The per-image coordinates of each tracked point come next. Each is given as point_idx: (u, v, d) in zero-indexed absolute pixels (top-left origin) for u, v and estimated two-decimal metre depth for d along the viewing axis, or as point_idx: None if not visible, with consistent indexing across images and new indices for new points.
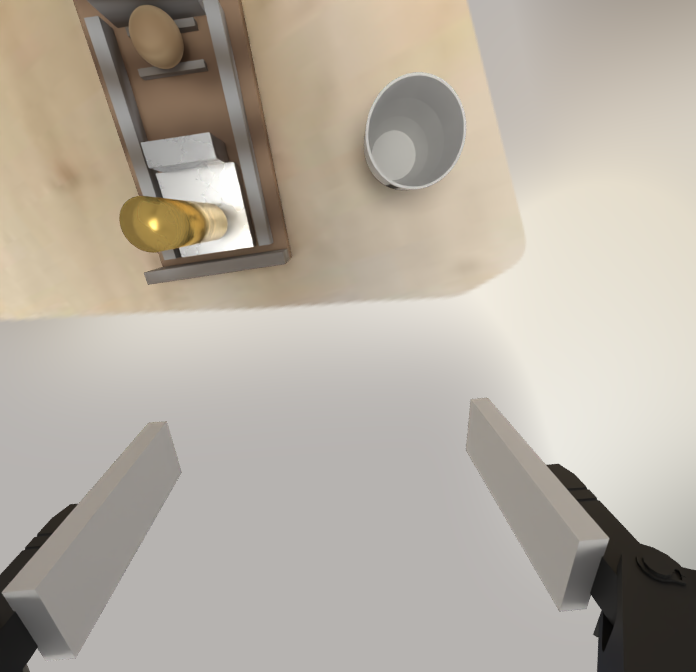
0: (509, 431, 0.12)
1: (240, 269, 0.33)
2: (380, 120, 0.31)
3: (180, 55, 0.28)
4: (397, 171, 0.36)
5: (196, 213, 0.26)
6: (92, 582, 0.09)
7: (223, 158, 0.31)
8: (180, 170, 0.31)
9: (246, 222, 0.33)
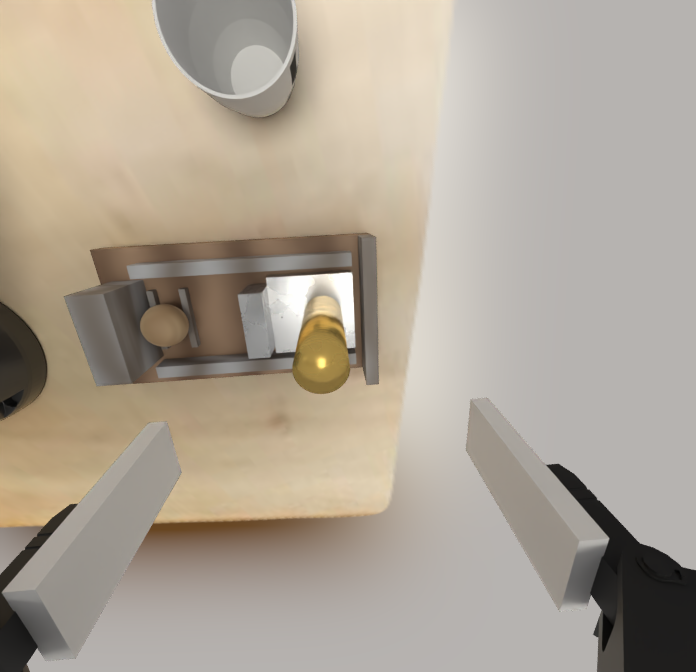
0: (509, 431, 0.12)
1: (375, 290, 0.29)
2: (218, 91, 0.25)
3: (176, 308, 0.30)
4: None
5: (313, 320, 0.24)
6: (92, 582, 0.09)
7: (262, 287, 0.30)
8: (273, 330, 0.32)
9: (326, 275, 0.30)
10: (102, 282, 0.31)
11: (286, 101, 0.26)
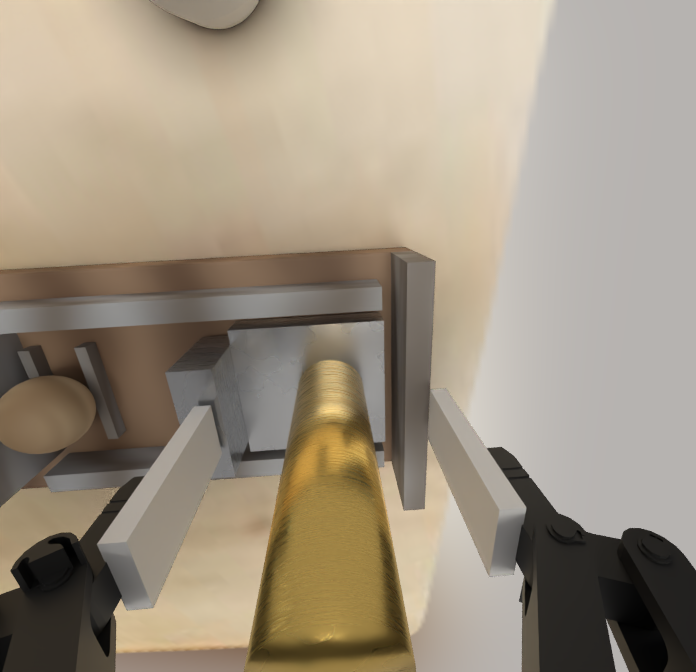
0: (459, 417, 0.13)
1: (428, 359, 0.15)
2: None
3: (65, 385, 0.17)
4: None
5: (310, 460, 0.10)
6: (163, 543, 0.10)
7: (221, 347, 0.17)
8: (244, 417, 0.18)
9: (336, 326, 0.17)
10: None
11: None
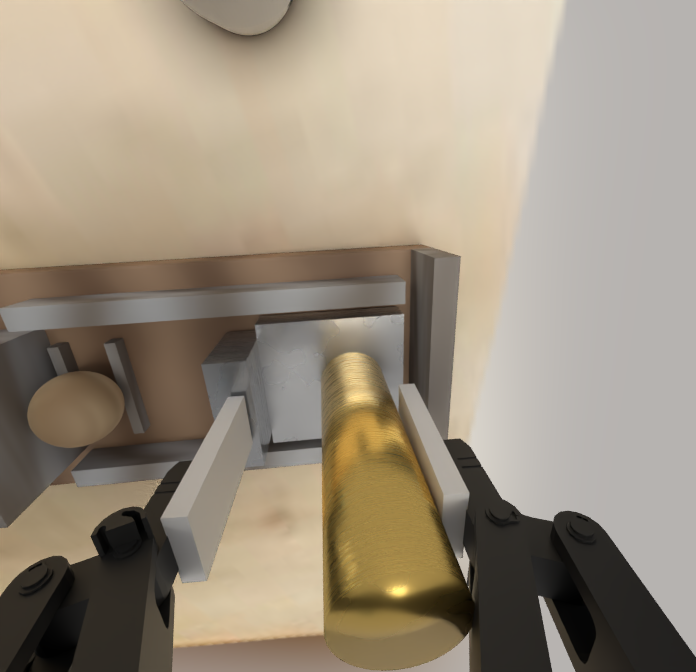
0: (421, 411, 0.13)
1: (451, 348, 0.16)
2: None
3: (97, 380, 0.17)
4: None
5: (355, 440, 0.11)
6: (212, 521, 0.11)
7: (249, 341, 0.17)
8: (269, 409, 0.19)
9: (359, 319, 0.18)
10: None
11: None
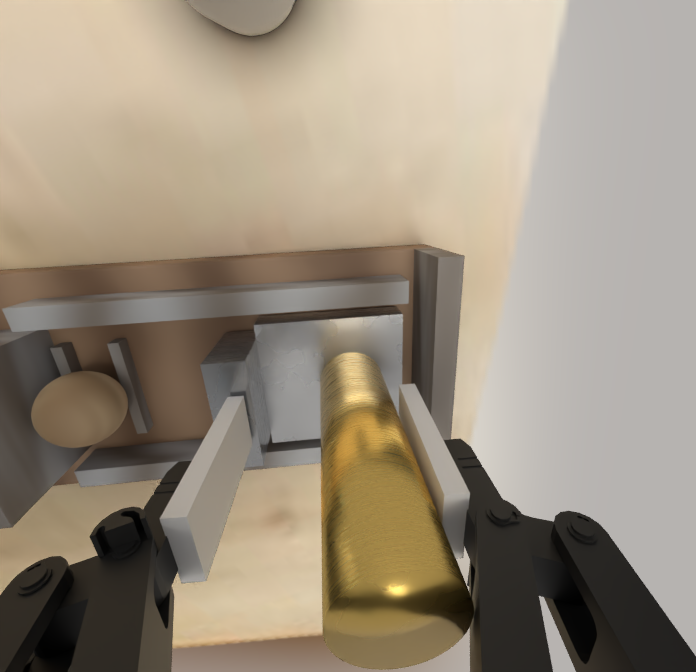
0: (422, 411, 0.13)
1: (455, 348, 0.16)
2: None
3: (101, 380, 0.17)
4: None
5: (354, 440, 0.11)
6: (212, 521, 0.11)
7: (248, 341, 0.17)
8: (268, 409, 0.19)
9: (358, 319, 0.18)
10: None
11: None
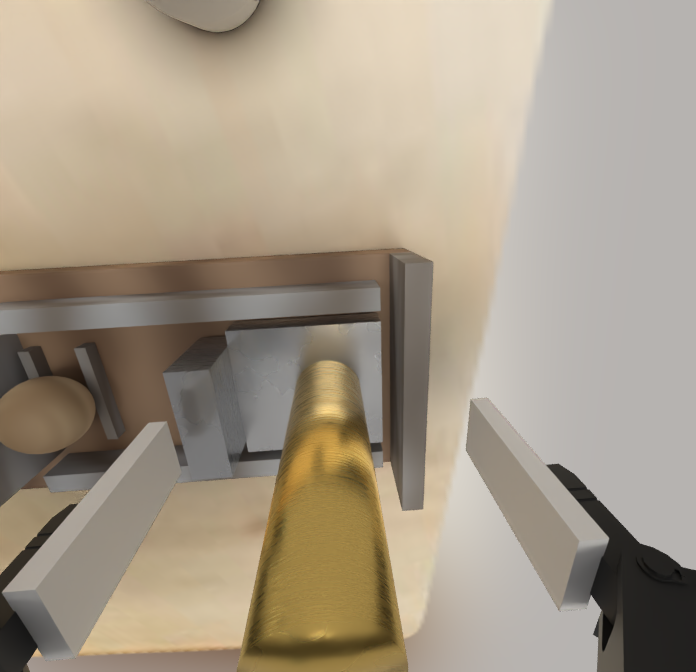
0: (509, 431, 0.12)
1: (426, 359, 0.15)
2: None
3: (65, 385, 0.17)
4: None
5: (305, 459, 0.11)
6: (92, 582, 0.09)
7: (219, 348, 0.17)
8: (242, 417, 0.18)
9: (333, 327, 0.17)
10: None
11: None
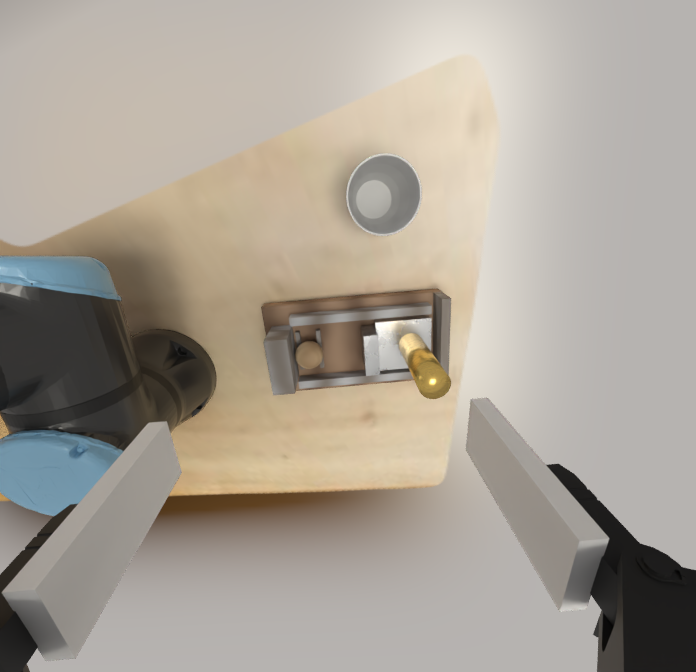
0: (509, 431, 0.12)
1: (449, 330, 0.45)
2: (355, 214, 0.42)
3: (317, 344, 0.47)
4: (385, 196, 0.44)
5: (419, 354, 0.40)
6: (92, 582, 0.09)
7: (373, 329, 0.46)
8: None
9: (414, 320, 0.46)
10: (266, 327, 0.48)
11: None
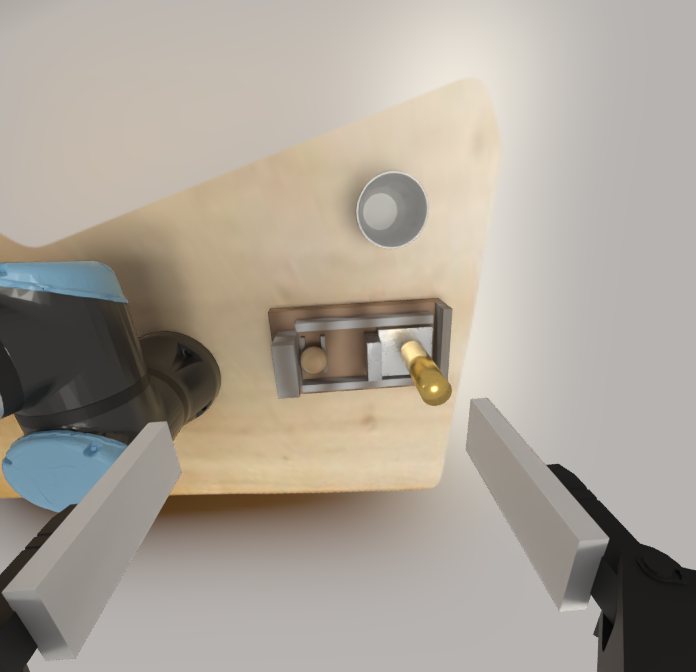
0: (509, 431, 0.12)
1: (449, 339, 0.47)
2: (363, 225, 0.43)
3: (321, 349, 0.48)
4: (391, 209, 0.46)
5: (421, 362, 0.42)
6: (92, 582, 0.09)
7: (376, 336, 0.48)
8: None
9: (416, 328, 0.48)
10: (272, 331, 0.49)
11: None
